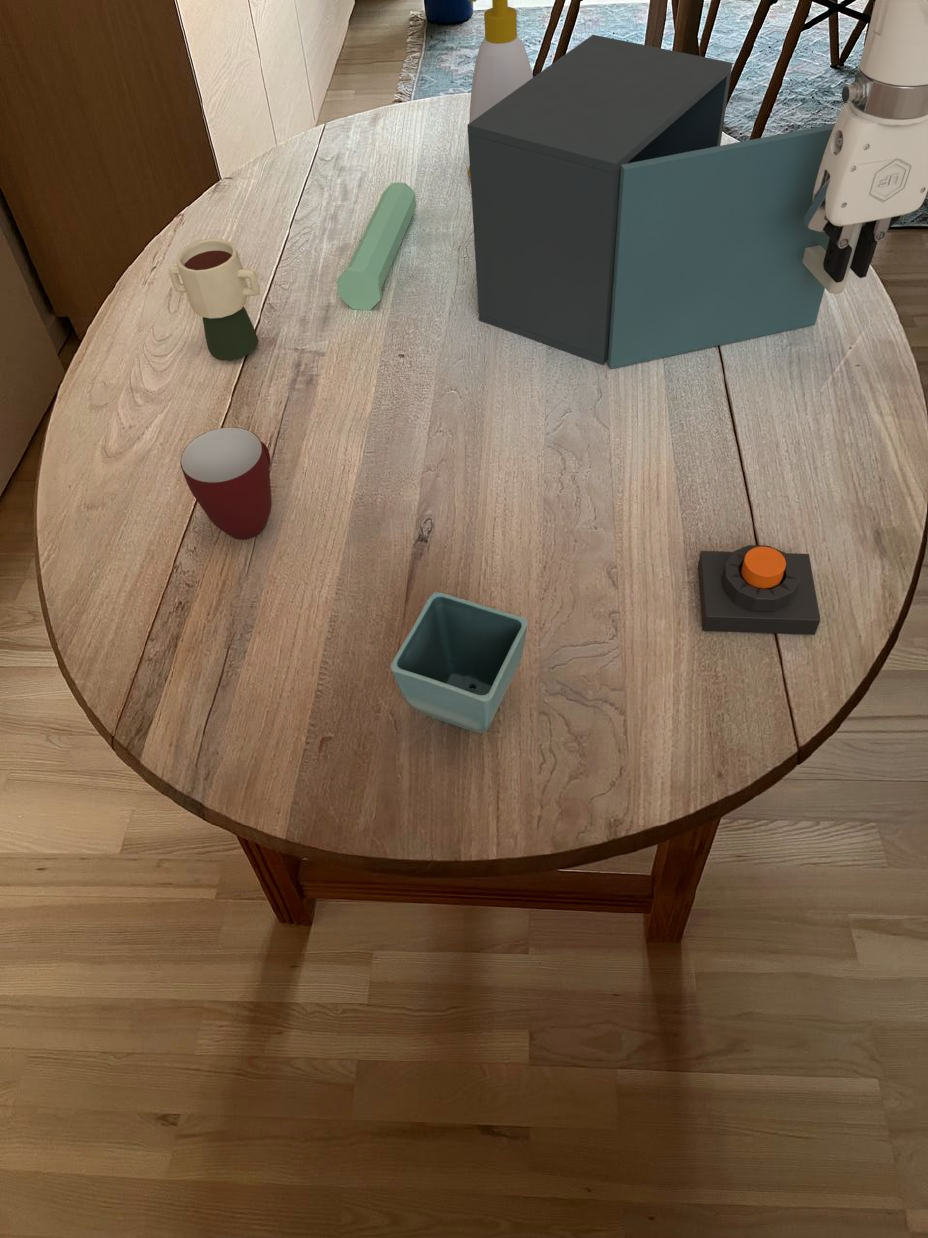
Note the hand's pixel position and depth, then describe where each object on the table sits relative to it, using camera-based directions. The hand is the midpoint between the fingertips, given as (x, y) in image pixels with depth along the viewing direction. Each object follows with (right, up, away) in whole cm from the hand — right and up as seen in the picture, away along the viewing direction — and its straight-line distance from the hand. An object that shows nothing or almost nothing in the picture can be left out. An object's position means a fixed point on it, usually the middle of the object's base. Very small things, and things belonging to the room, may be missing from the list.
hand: (844, 271), depth 100 cm
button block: (-13, -35, -12) cm, 39 cm away
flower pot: (-40, -44, -16) cm, 62 cm away
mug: (-63, -26, 0) cm, 68 cm away
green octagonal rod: (-51, +13, +29) cm, 61 cm away
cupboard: (-24, +6, +21) cm, 32 cm away
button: (-13, -33, -14) cm, 38 cm away
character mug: (-69, -3, +18) cm, 72 cm away
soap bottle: (-34, +30, +41) cm, 61 cm away
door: (-10, -7, +10) cm, 16 cm away
